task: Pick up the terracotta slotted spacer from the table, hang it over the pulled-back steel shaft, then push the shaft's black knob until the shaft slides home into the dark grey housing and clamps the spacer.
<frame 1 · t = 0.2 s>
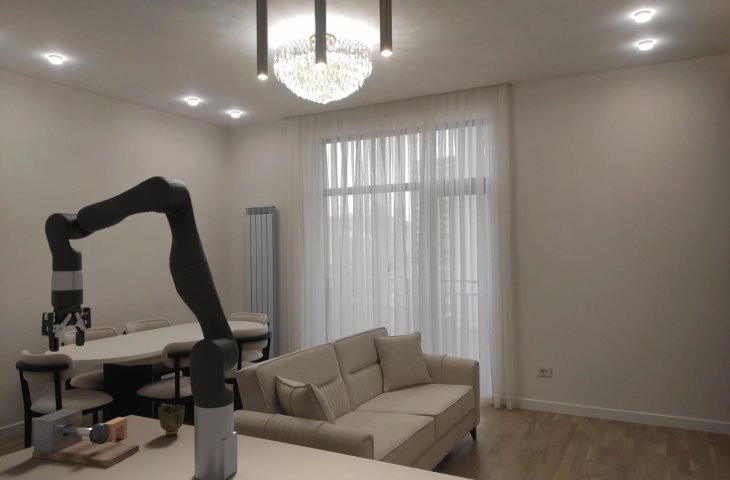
hand: (67, 348, 144), 28 cm above the table, tool pointing down, fingers open, 8 cm apart
shaft: (84, 431, 144), point 6 cm above the table, slide at 6.0 cm
cup: (171, 435, 158), on the table
housing: (58, 430, 146), on the baseboard, point 6 cm above the table
baseboard: (70, 452, 145), on the table
spacer: (115, 440, 154), on the table
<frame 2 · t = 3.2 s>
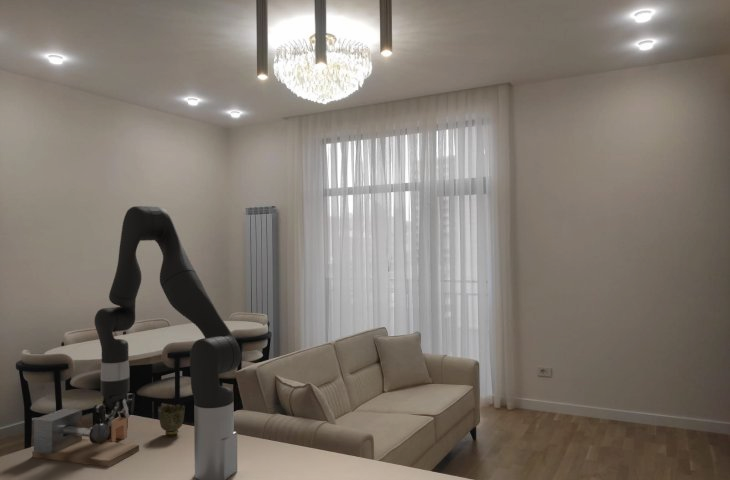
hand: (115, 435, 154), 1 cm above the table, tool pointing down, fingers closed on spacer, 6 cm apart
spacer: (115, 440, 154), on the table, touching gripper
everything else where it was.
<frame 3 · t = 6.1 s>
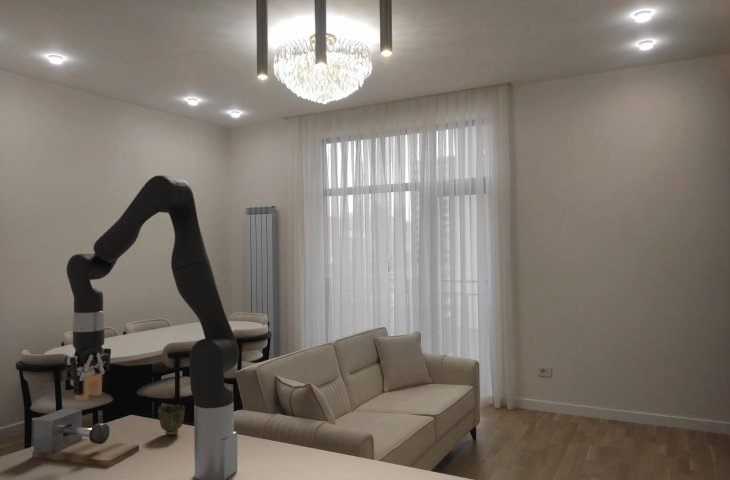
hand: (88, 391, 143), 17 cm above the table, tool pointing down, fingers closed on spacer, 6 cm apart
spacer: (88, 396, 143), point 16 cm above the table, touching gripper
everything else where it was.
when the fingers open (5 cm above the table, at t = 9.1 s): spacer stays where it is, resting on shaft.
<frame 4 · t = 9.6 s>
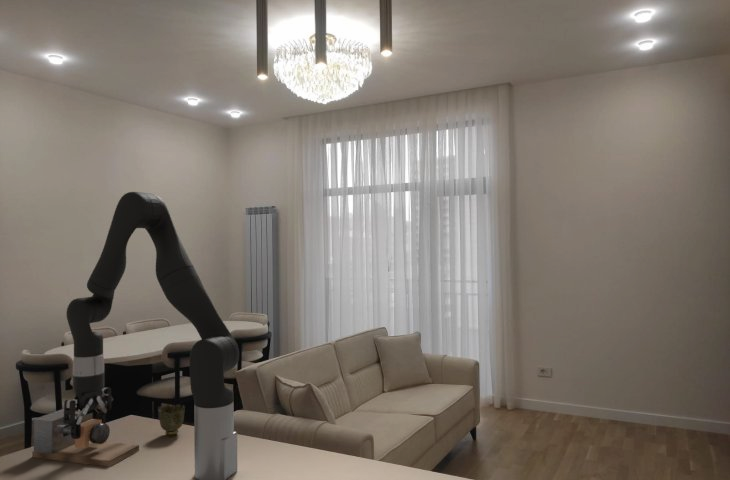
hand: (88, 432, 143), 6 cm above the table, tool pointing down, fingers open, 8 cm apart
shaft: (84, 431, 144), point 6 cm above the table, slide at 6.0 cm, touching spacer
spacer: (88, 443, 143), point 3 cm above the table, touching shaft
everything else where it was.
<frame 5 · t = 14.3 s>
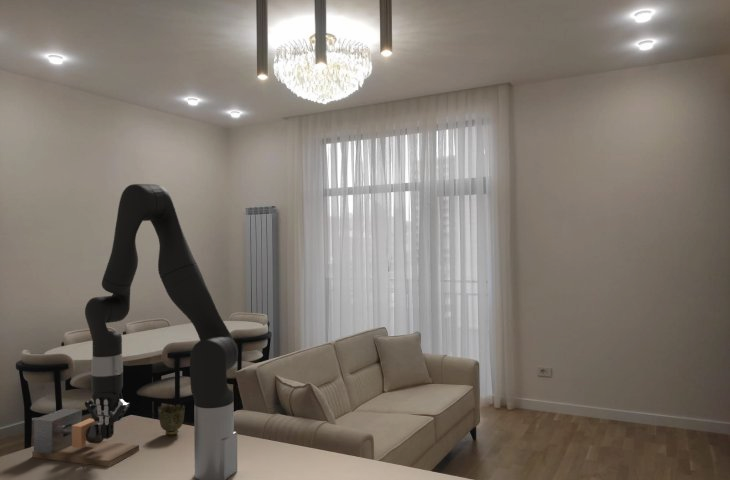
hand: (107, 437, 142), 5 cm above the table, tool pointing down, fingers closed
shaft: (80, 431, 144), point 6 cm above the table, slide at 4.9 cm, touching gripper, spacer
spacer: (85, 443, 144), point 3 cm above the table, touching shaft
everything else where it was.
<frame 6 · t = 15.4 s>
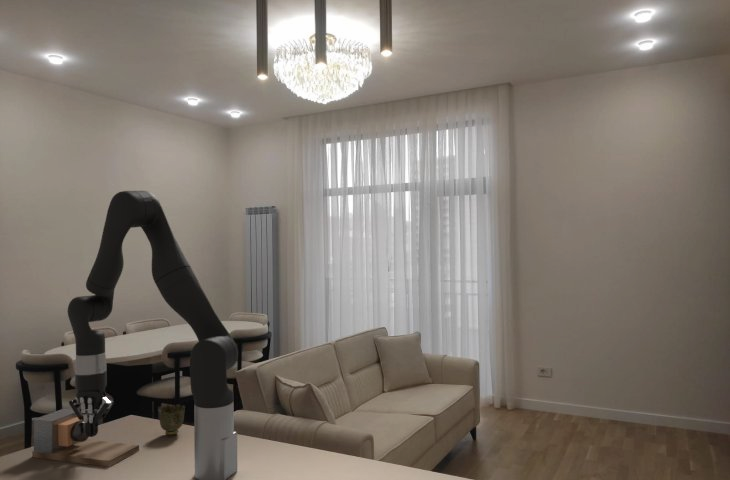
hand: (91, 435, 143), 5 cm above the table, tool pointing down, fingers closed
shaft: (65, 430, 145), point 6 cm above the table, slide at -0.1 cm, touching gripper, spacer
spacer: (72, 441, 145), point 3 cm above the table, touching housing, shaft
everything else where it was.
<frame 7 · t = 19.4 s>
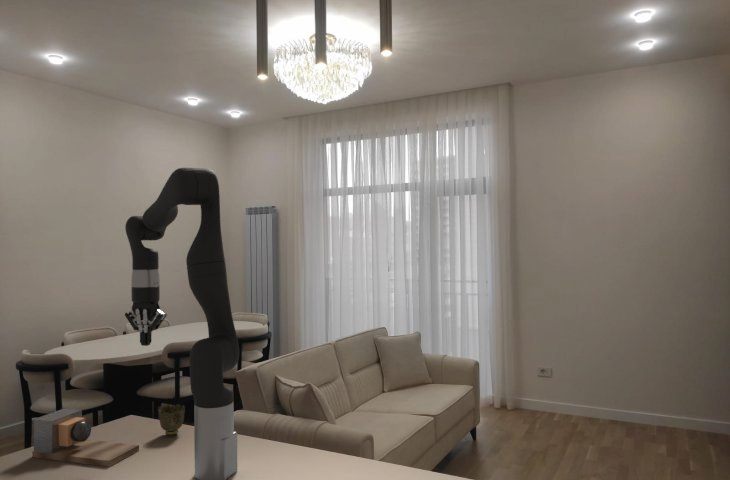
hand: (145, 345, 155), 27 cm above the table, tool pointing down, fingers closed
shaft: (65, 430, 145), point 6 cm above the table, slide at 0.0 cm, touching spacer
spacer: (72, 441, 145), point 3 cm above the table, touching shaft
everything else where it was.
at the end: shaft slide at 0.0 cm; spacer 0.4 cm from the target spot, point 3.0 cm above the table; the gripper is holding nothing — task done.
